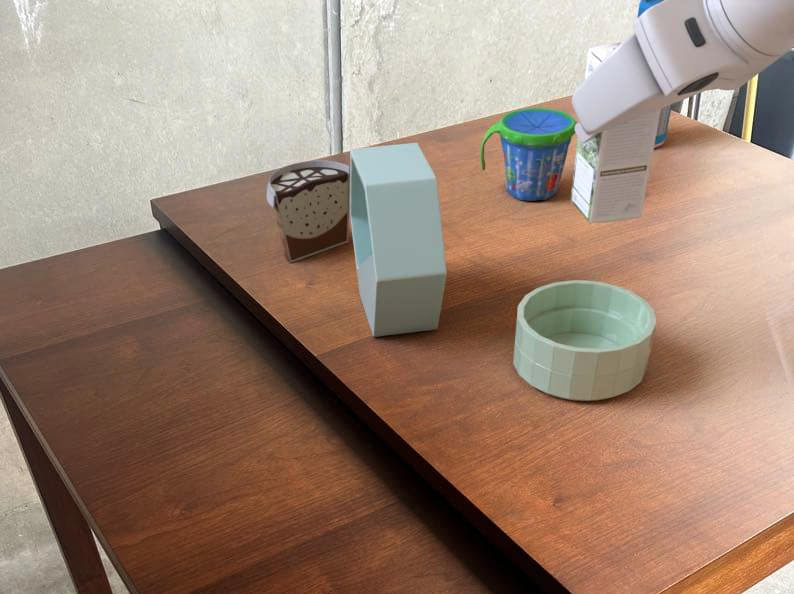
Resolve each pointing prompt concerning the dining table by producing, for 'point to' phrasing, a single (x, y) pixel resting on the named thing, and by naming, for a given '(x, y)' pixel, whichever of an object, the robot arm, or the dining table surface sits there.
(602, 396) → the bowl
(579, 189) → the syrup box
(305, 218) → the food container
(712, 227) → the dining table surface
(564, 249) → the dining table surface
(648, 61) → the robot arm
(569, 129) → the snack cup
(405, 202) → the planter
